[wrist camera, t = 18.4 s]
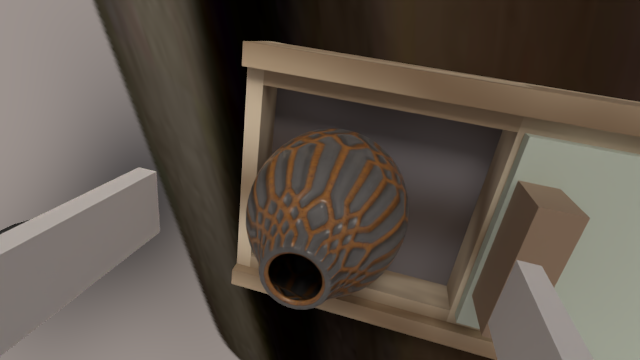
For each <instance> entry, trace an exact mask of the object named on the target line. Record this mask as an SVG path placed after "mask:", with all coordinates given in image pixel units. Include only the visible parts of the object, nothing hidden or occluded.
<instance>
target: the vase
mask: <svg viewBox="0 0 640 360" xmlns="http://www.w3.org/2000/svg"><path fill="white" fill-rule="evenodd" d="M408 216H409V205H408V195H407V190H406V186H405V182H404V179H403V176H402V174H401V172H400V170H399V168H398V167H397V165H396V163H395V162H394V161H393V159H392V158H391V157H390V155H389V154H388V153H387V152H386V151H385V150H384V149H383V148H382V147H381V146H380V145H378V144H377V143H376V142H374V141H373V140H371V139H369V138H368V137H366V136H364V135H361V134H359V133H356V132H353V131H349V130H344V129H320V130H314V131H310V132H307V133H304V134H302V135H300V136H298V137H296V138H294V139H292V140H290V141H288V142H287V143H286V144H284V145H283V146H281V147H280V148H279V149H278V150H276V151H275V152H274V153H273V154H272V155H271V156H270V157H269V158H268V159H267V161H266V162H265V163H264V165H263V166H262V168H261V169H260V171H259V172H258V174H257V176H256V178H255V180H254V183H253V185H252V188H251V191H250V194H249V197H248V202H247V208H246V230H247V235H248V239H249V243H250V246H251V248H252V251H253V253H254V255H255V257H256V259H257V261H258V263H259V277H260V281H261V283H262V285H263V287H264V289H265V290H266V292H267V293H268V294H269V295H270V296H271V297H272V298H273V299H274V300H275V301H277V302H278V303H280V304H282V305H284V306H286V307H289V308H293V309H300V310H305V309H311V308H315V307H317V306H319V305H321V304H322V303H324V302H325V301H326V300H328V299H332V298H338V297H343V296H347V295H350V294H353V293H355V292H357V291H359V290H362V289H363V288H365V287H367V286H368V285H370V284H371V283H373V282H374V281H375V280H376V279H378V278H379V277H380V276H381V275H382V274H383V273H384V271H385V270H386V269H387V268H388V267H389V265H390V264H391V263H392V261H393V260H394V258H395V257H396V255H397V253H398V251H399V249H400V247H401V245H402V243H403V240H404V237H405V234H406V230H407V225H408Z"/></svg>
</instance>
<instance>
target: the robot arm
mask: <svg viewBox="0 0 640 360" xmlns="http://www.w3.org/2000/svg"><path fill="white" fill-rule="evenodd" d="M159 232H160V220H159V205H158V190H157V173H156V171H152V170H148V169H144V168H140V167H139V168H137V169H134V170H132V171H130V172H128V173H126V174H125V175H122V176H120V177H118V178H116V179H114V180H112V181H110V182H108V183H105V184H103V185H101V186H99V187H97V188H95V189H93V190H91V191H89V192H87V193H85V194H83V195H81V196H79V197H77V198H74V199H72V200H70V201H68V202H66V203H64V204H62V205H60V206H58V207H56V208H54V209H52V210H50V211H48V212H46V213H43V214H41V215H39V216H37V217H35V218H33V219H31V220H28V221H25V222H21V223H17V224H14V225H12V226H9V227H7V228H5V229H3V230H1V231H0V356H1V355H2V354H4V353H5V352H6V351H8V350H9V349H10V348H12V347H13V346H14V345H15V344H17V343H18V342H19V341H21V340H22V339H23V338H24V337H26V336H27V335H28V334H29V333H31V332H32V331H33V330H35V329H36V328H37V327H38V326H40V325H41V324H42V323H44V322H45V321H46V320H48V319H49V318H50V317H51V316H53V315H54V314H55V313H57V312H58V311H59V310H60V309H62V308H63V307H64V306H66V305H67V304H68V303H69V302H70V301H72V300H73V299H75V298H76V297H77V296H78V295H80V294H81V293H82V292H84V291H85V290H86V289H87V288H89V287H90V286H91V285H92V284H94V283H95V282H96V281H98V280H99V279H100V278H101V277H103V276H104V275H105V274H107V273H108V272H109V271H110V270H112V269H113V268H114V267H116V266H117V265H118V264H119V263H121V262H122V261H123V260H125V259H126V258H127V257H128V256H130V255H131V254H132V253H134V252H135V251H136V250H138V249H139V248H140V247H141V246H143V245H144V244H145V243H147V242H148V241H149V240H150V239H152V238H153V237H154V236H155V235H157V234H158V233H159ZM488 325H489V329H490V333H491V337H492V341H493V344H494V348H495V352H496V356H497V360H594V359H593V357H592V355H591V354H590V352H589V350H588V348H587V346H586V345H585V343H584V341H583V339H582V337H581V336H580V334H579V332H578V330H577V328H576V327H575V325H574V323H573V321H572V319H571V318H570V316H569V314H568V312H567V310H566V309H565V307H564V305H563V303H562V301H561V300H560V298H559V296H558V294H557V292H556V291H555V289H554V287H553V285H552V283H551V282H550V280H549V278H548V276H547V274H546V273H545V271H544V269H543V267H542V266H540V265H536V264H532V263H528V262H524V261H519V260H516V262H515V264H514V266H513V268H512V271H511V273H510V275H509V277H508V279H507V282H506V284H505V286H504V288H503V290H502V293H501V295H500V297H499V299H498V301H497V303H496V306H495V308H494V310H493V312H492V314H491V317H490V319H489V321H488Z"/></svg>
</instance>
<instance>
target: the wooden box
mask: <svg viewBox="0 0 640 360" xmlns="http://www.w3.org/2000/svg"><path fill="white" fill-rule="evenodd" d="M242 66H246V67H248V69H247V87H246V106H245V124H244V143H243V161H242V179H241V198H240V216H239V234H238V253H237V264H236V265H235V266H234V268H233V269H232V282H231V284H235V285H238V286H242V287H245V288H249V289H252V290H255V291H259V292H262V293H266V294H268V293H267V292H266V290H265V289H264V287H263V285H262V283H261V281H260V277H259V263H258V261H257V259H256V257H255V255H254V253H253V251H252V248H251V246H250V243H249V239H248V235H247V230H246V208H247V202H248V197H249V194H250V191H251V188H252V185H253V183H254V180H255V178H256V176H257V174H258V172H259V171H260V169H261V168H262V166H263V165H264V163H265V162H266V161H267V159H268V158H269V157H270V156H271V155H272V154H273V153H274V152H275V151H276V150H278V149H279V148H280V147H281V146H283V145H284V144H286V143H287V142H288V141H290V140H292V139H294V138H296V137H298V136H300V135H302V134H304V133H307V132H310V131H314V130H320V129H344V130H349V131H353V132H356V133H359V134H361V135H364V136H366V137H368V138H369V139H371V140H373V141H374V142H376V143H377V144H378V145H380V146H381V147H382V148H383V149H384V150H385V151H386V152H387V153H388V154H389V155H390V157H391V158H392V159H393V161H394V162H395V163H396V165H397V167H398V168H399V170H400V172H401V174H402V176H403V179H404V182H405V186H406V190H407V195H408V205H409V216H408V225H407V230H406V234H405V237H404V240H403V243H402V245H401V247H400V249H399V251H398V253H397V255H396V257H395V258H394V260H393V261H392V263H391V264H390V265H389V267H388V268H387V269H386V270H385V271H384V273H383V274H382V275H381V276H380V277H379V278H378V279H376V280H375V281H374V282H373V283H371V284H370V285H368V286H367V287H365V288H363V289H362V290H359V291H357V292H355V293H353V294H350V295H347V296H343V297H338V298H332V299H328V300H326V301H325V302H324V303H322V304H321V305H319V306H317V307H315V308H318V309H321V310H325V311H328V312H331V313H335V314H338V315H342V316H345V317H349V318H352V319H356V320H359V321H363V322H366V323H369V324H373V325H376V326H380V327H383V328H387V329H390V330H394V331H397V332H401V333H404V334H408V335H411V336H414V337H418V338H421V339H425V340H428V341H432V342H435V343H439V344H442V345H446V346H449V347H452V348H456V349H459V350H463V351H466V352H470V353H473V354H477V355H480V356H484V357H487V358H490V359H494V360H497V356H496V352H495V348H494V344H493V341H492V339H491V338H487V337H484V336H481V331H480V329H477V328H474V327H470V326H467V325H463V324H459V323H456V318H455V312H456V310H457V307H458V304H459V302H460V299H461V297H462V294H463V292H464V289H465V286H466V284H467V281H468V279H469V276H470V274H471V271H472V268H473V266H474V263H475V261H476V258H477V256H478V253H479V250H480V248H481V245H482V243H483V240H484V238H485V235H486V232H487V230H488V227H489V225H490V222H491V220H492V217H493V214H494V212H495V209H496V207H497V204H498V202H499V199H500V196H501V194H502V191H503V189H504V186H505V184H506V181H507V178H508V176H509V173H510V171H511V168H512V166H513V163H514V160H515V158H516V155H517V153H518V150H519V148H520V145H521V142H522V140H523V137H524V135H525V133H528V134H533V135H539V136H544V137H550V138H555V139H560V140H566V141H571V142H576V143H582V144H587V145H593V146H598V147H603V148H609V149H614V150H620V151H625V152H630V153H636V154H640V102H637V101H631V100H625V99H619V98H613V97H607V96H600V95H594V94H588V93H582V92H576V91H570V90H564V89H558V88H552V87H546V86H540V85H533V84H527V83H521V82H515V81H509V80H503V79H497V78H491V77H485V76H479V75H472V74H466V73H460V72H454V71H448V70H442V69H436V68H430V67H424V66H418V65H412V64H405V63H399V62H393V61H387V60H381V59H375V58H369V57H363V56H357V55H351V54H345V53H338V52H332V51H326V50H320V49H314V48H308V47H302V46H296V45H290V44H284V43H277V42H271V41H243V54H242Z"/></svg>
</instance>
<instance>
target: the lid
mask: <svg viewBox="0 0 640 360" xmlns="http://www.w3.org/2000/svg"><path fill="white" fill-rule="evenodd" d="M516 260H519V261H524V262H528V263H532V264H536V265H540V266H542V267H543V269H544V271H545V273H546V274H547V276H548V278H549V280H550V282H551V283H552V285H553V287H554V289H555V291H556V292H557V294H558V296H559V298H560V300H561V301H562V303H563V305H564V307H565V309H566V310H567V312H568V314H569V316H570V318H571V319H572V321H573V323H574V325H575V327H576V328H577V330H578V332H579V334H580V336H581V337H582V339H583V341H584V343H585V345H586V346H587V348H588V350H589V352H590V354H591V355H592V357H593V359H594V360H640V154H636V153H630V152H625V151H620V150H614V149H609V148H603V147H598V146H593V145H587V144H582V143H576V142H571V141H566V140H560V139H555V138H550V137H544V136H539V135H533V134H528V133H525V135H524V137H523V140H522V142H521V145H520V148H519V150H518V153H517V155H516V158H515V160H514V163H513V166H512V168H511V171H510V173H509V176H508V178H507V181H506V184H505V186H504V189H503V191H502V194H501V196H500V199H499V202H498V204H497V207H496V209H495V212H494V214H493V217H492V220H491V222H490V225H489V227H488V230H487V232H486V235H485V238H484V240H483V243H482V245H481V248H480V250H479V253H478V256H477V258H476V261H475V263H474V266H473V268H472V271H471V274H470V276H469V279H468V281H467V284H466V286H465V289H464V292H463V294H462V297H461V299H460V302H459V304H458V307H457V310H456V312H455V318H456V323H459V324H463V325H467V326H470V327H474V328H477V329H480V331H481V336H484V337H487V338H491V339H492V337H491V333H490V329H489V325H488V321H489V319H490V317H491V314H492V312H493V310H494V308H495V306H496V303H497V301H498V299H499V297H500V295H501V293H502V290H503V288H504V286H505V284H506V282H507V279H508V277H509V275H510V273H511V271H512V268H513V266H514V264H515V262H516Z"/></svg>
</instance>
